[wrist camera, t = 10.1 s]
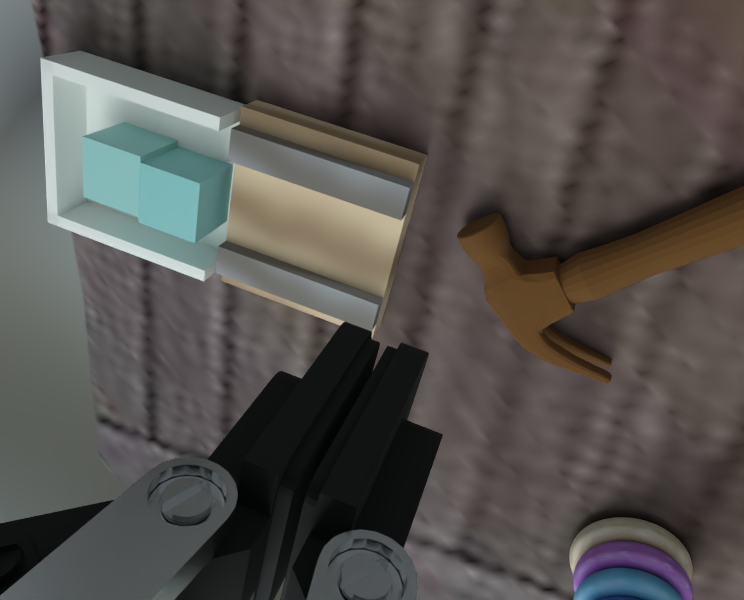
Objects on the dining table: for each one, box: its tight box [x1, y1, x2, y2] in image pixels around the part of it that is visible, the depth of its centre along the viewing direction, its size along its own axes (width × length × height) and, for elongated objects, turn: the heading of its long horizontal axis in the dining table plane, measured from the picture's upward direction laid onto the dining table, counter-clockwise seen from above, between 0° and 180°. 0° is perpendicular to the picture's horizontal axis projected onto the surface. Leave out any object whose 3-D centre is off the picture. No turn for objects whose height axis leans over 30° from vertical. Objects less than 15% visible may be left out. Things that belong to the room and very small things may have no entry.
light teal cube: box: [83, 122, 178, 217], centre depth 42 cm, size 4×4×4 cm
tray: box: [41, 51, 246, 281], centre depth 42 cm, size 11×12×4 cm
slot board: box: [215, 100, 428, 338], centre depth 41 cm, size 12×11×3 cm
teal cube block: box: [138, 146, 233, 243], centre depth 41 cm, size 4×4×4 cm
